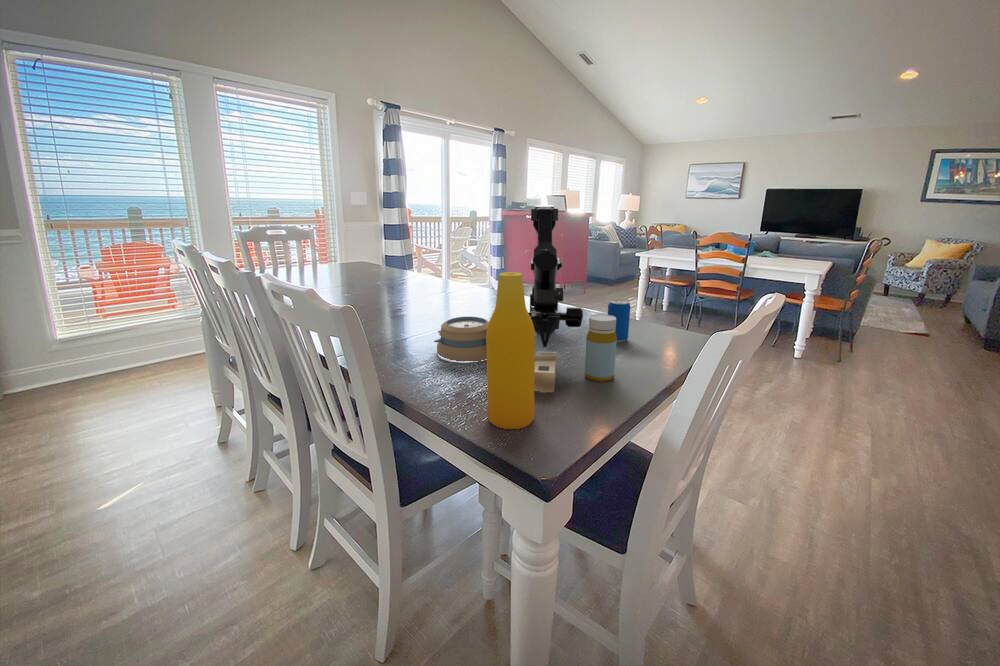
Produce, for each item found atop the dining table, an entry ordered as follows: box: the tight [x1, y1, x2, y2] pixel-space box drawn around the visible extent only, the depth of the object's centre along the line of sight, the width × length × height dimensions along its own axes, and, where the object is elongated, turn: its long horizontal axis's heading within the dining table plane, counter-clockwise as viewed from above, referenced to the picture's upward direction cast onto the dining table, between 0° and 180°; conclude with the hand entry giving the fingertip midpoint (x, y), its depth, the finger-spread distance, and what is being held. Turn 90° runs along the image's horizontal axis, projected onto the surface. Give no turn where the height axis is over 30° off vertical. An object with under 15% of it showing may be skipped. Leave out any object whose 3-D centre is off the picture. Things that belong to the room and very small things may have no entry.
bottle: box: [584, 313, 618, 383], centre depth 106 cm, size 7×7×15 cm
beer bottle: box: [486, 271, 536, 430], centre depth 84 cm, size 9×9×29 cm
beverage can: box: [607, 299, 631, 343], centre depth 134 cm, size 6×6×12 cm
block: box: [534, 350, 558, 393], centre depth 106 cm, size 5×5×14 cm
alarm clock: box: [433, 316, 490, 361], centre depth 125 cm, size 17×9×23 cm
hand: (544, 346), depth 110 cm, fingers closed
